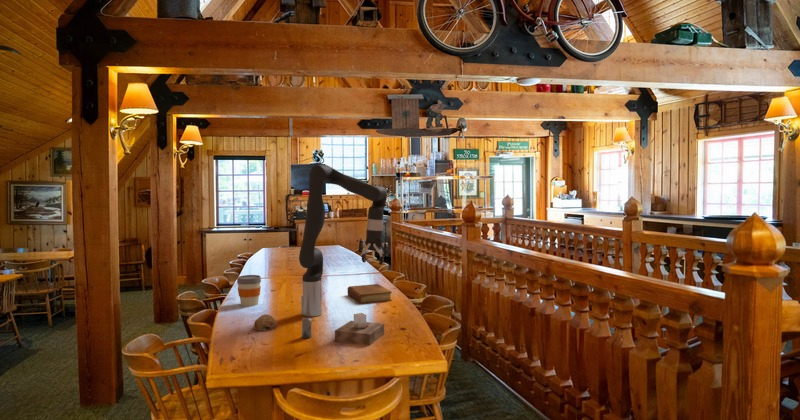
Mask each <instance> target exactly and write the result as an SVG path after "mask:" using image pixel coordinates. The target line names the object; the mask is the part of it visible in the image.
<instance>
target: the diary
mask: <svg viewBox="0 0 800 420" xmlns="http://www.w3.org/2000/svg"><path fill="white" fill-rule="evenodd" d="M392 293H393V292H392V290H389V289H388V288H386V287H384V286H382V285H381V284H379V283H372V284H362V285H350V286H348V287H347V295H348V296H349V297H350V298H351V299H353V300H354V301H356V302H357V303H358V304H360V305H362V304H373V303H382V302H392V300H393V299H391V294H392Z"/></svg>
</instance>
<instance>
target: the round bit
mask: <svg viewBox="0 0 800 420" xmlns="http://www.w3.org/2000/svg"><path fill="white" fill-rule="evenodd" d="M301 321H302V322H301V338H303V339H311V338H312V328H313V327H312V325H313V324H312V322H313V321H312V317H309V316H305V317H302V319H301Z"/></svg>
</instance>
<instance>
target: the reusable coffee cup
mask: <svg viewBox="0 0 800 420" xmlns="http://www.w3.org/2000/svg"><path fill="white" fill-rule="evenodd" d="M236 280H237V281H236V284H237V293H238V297H239V300H240V305H241V306H242V307H254V306H257V305H259V300H260V299H259V298H260V295H261V287H262V286H261V282H262V278H261V275H258V274H245V275H241V276H237V277H236Z"/></svg>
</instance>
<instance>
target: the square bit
mask: <svg viewBox="0 0 800 420" xmlns="http://www.w3.org/2000/svg"><path fill="white" fill-rule="evenodd" d="M353 321H354V329H361V330H364V329H365V328H366V322H367V314H366V313H364V312H359V313H354V314H353Z"/></svg>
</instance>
